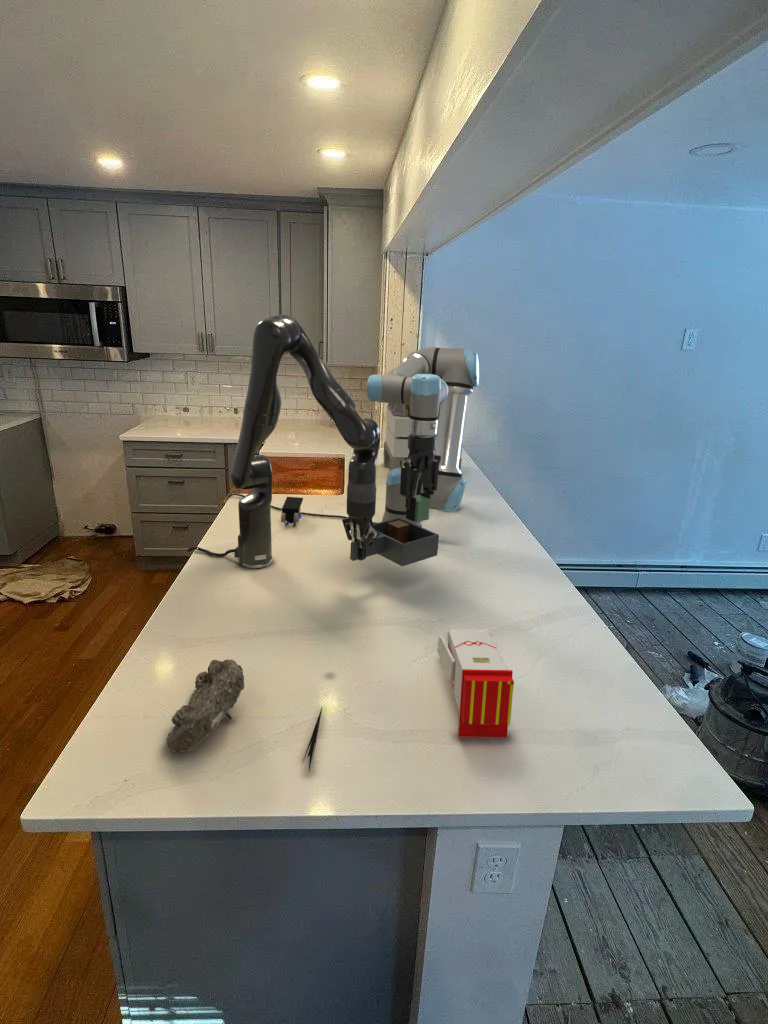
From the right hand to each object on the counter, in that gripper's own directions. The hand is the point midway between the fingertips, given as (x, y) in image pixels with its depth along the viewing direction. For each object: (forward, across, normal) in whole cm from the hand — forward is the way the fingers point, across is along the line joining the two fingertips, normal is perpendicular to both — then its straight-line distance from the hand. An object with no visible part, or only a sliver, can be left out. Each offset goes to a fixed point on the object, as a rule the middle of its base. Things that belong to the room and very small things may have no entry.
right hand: (417, 517), depth 157 cm
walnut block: (+10, 0, +7) cm, 12 cm away
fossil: (+21, -70, -18) cm, 75 cm away
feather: (+21, -54, -31) cm, 65 cm away
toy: (+21, -24, -43) cm, 54 cm away
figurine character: (+20, -2, +62) cm, 65 cm away
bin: (+11, -8, +4) cm, 14 cm away
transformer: (+20, +84, +83) cm, 120 cm away
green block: (0, 0, 0) cm, 0 cm away
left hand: (+9, -17, +4) cm, 20 cm away
